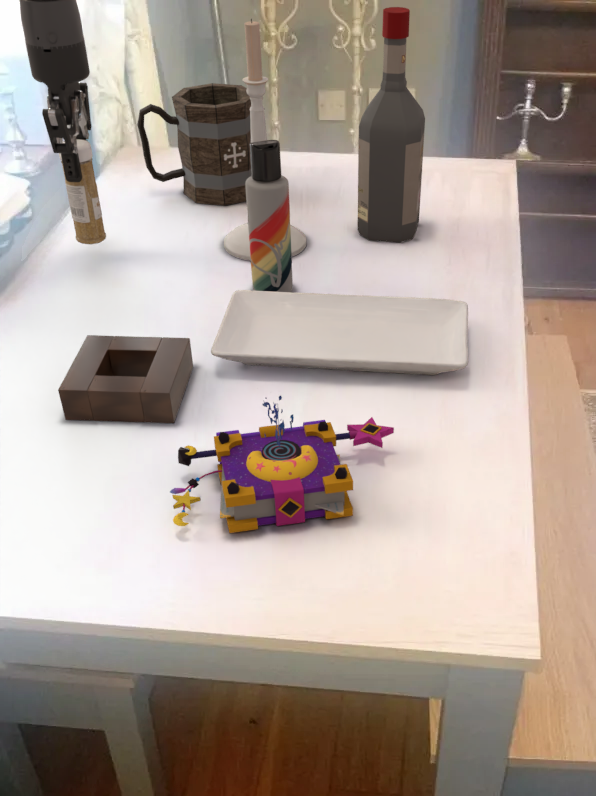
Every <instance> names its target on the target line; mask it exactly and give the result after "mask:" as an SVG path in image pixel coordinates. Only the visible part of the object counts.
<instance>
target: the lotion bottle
mask: <svg viewBox="0 0 596 796" xmlns="http://www.w3.org/2000/svg"><path fill="white" fill-rule="evenodd" d="M280 144H281V143H280V141H279V140H278V139H267V140H266V141H260V142H253V143H250V157H251V175H252V176H251V177H249V178H248V179H247V180H246V183H245V186H246V201H245V202H246V213H247V223H248V229H249V243H250V257H251V261H250V269H251V282H252V283H251V284H252V290H253V291H272V292H292V291H293V286H294V285H293V259H292V258H293V256H292V255H291V230H290V225H291V208H290V206H291V205H290V187H289V179H288V178H287V177H286V176H284V175H283V174H282V164H281V163H282V161H281V145H280Z"/></svg>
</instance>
